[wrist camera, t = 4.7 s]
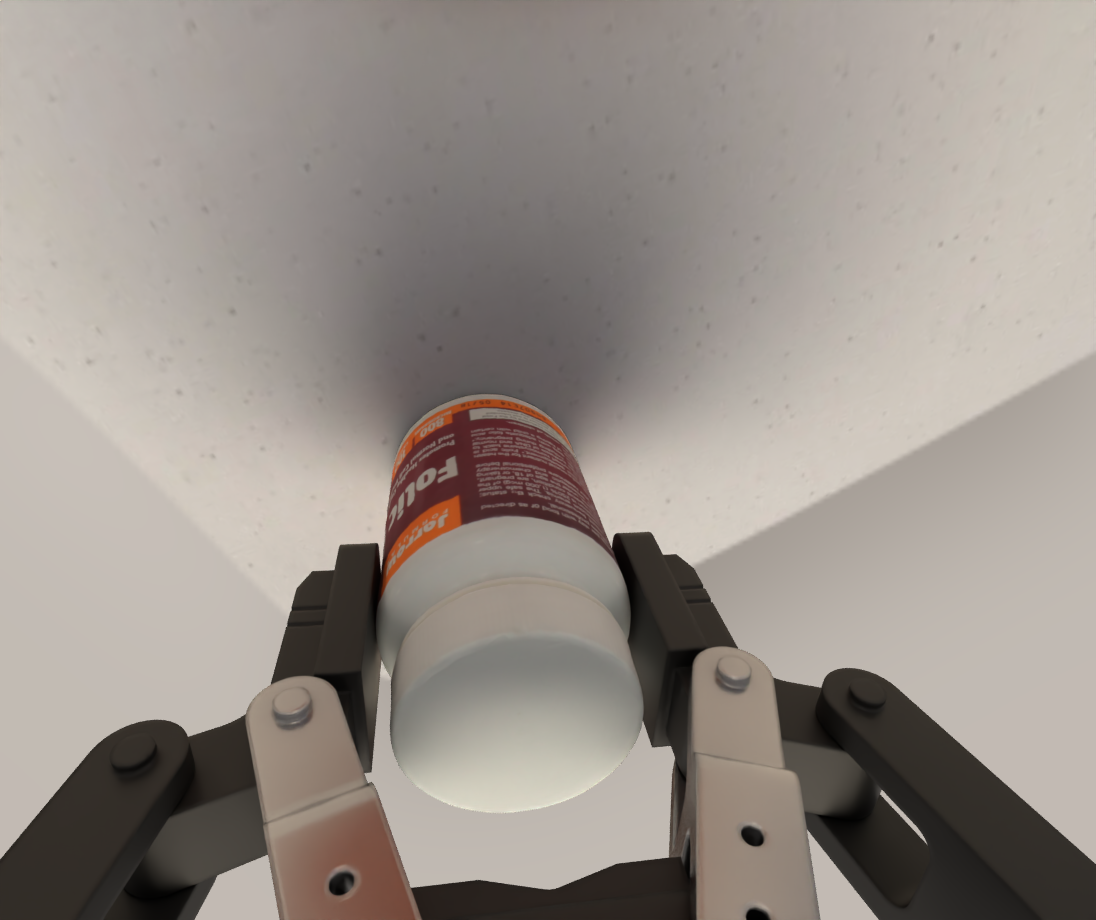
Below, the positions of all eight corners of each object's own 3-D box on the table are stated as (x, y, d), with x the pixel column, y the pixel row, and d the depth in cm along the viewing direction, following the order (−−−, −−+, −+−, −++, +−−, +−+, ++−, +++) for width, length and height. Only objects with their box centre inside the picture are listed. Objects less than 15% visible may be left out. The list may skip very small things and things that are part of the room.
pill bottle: (417, 367, 17) (406, 584, 9) (600, 416, 18) (718, 640, 10) (371, 531, 18) (333, 819, 11) (540, 564, 20) (605, 842, 12)
